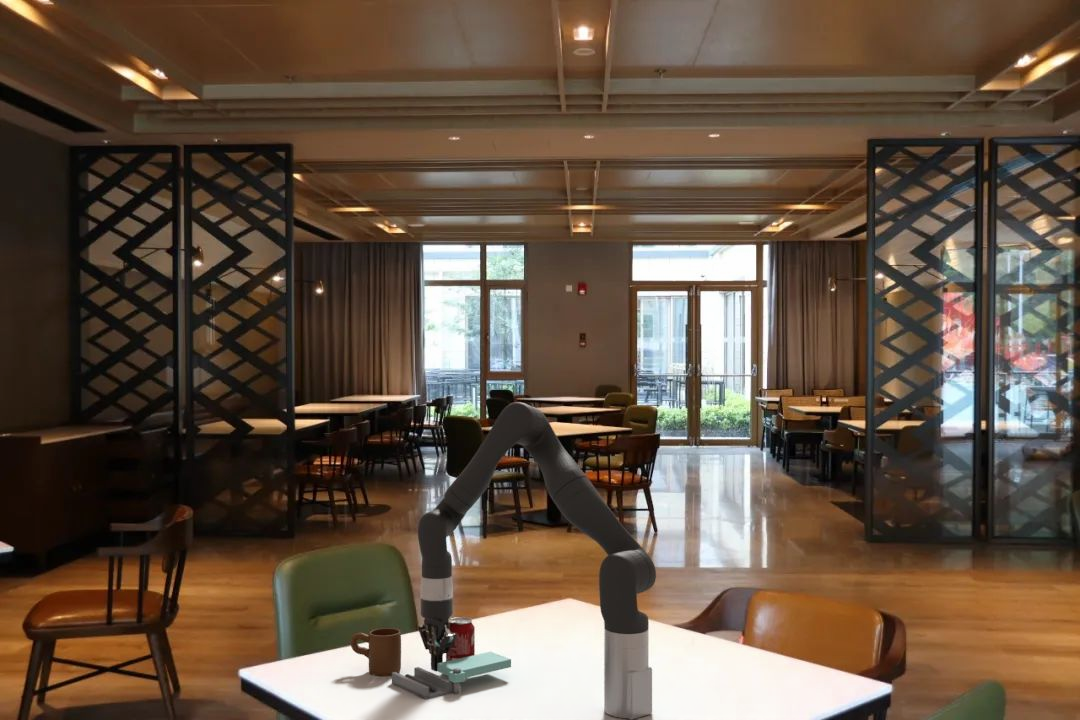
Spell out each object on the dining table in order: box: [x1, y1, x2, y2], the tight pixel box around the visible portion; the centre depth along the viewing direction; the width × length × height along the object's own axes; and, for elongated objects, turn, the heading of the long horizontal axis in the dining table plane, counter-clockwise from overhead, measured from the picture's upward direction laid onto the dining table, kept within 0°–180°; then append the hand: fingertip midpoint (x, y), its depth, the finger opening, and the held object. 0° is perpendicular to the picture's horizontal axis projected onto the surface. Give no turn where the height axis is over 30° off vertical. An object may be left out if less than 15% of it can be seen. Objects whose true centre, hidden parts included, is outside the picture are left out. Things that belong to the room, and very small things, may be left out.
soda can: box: [445, 616, 476, 662], centre depth 230 cm, size 7×7×12 cm
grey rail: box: [391, 666, 461, 700], centre depth 217 cm, size 16×8×2 cm, turn 39°
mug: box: [349, 627, 402, 677], centre depth 229 cm, size 12×8×9 cm, turn 89°
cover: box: [436, 651, 512, 684], centre depth 221 cm, size 17×10×2 cm, turn 129°
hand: (436, 670), depth 225 cm, fingers closed
